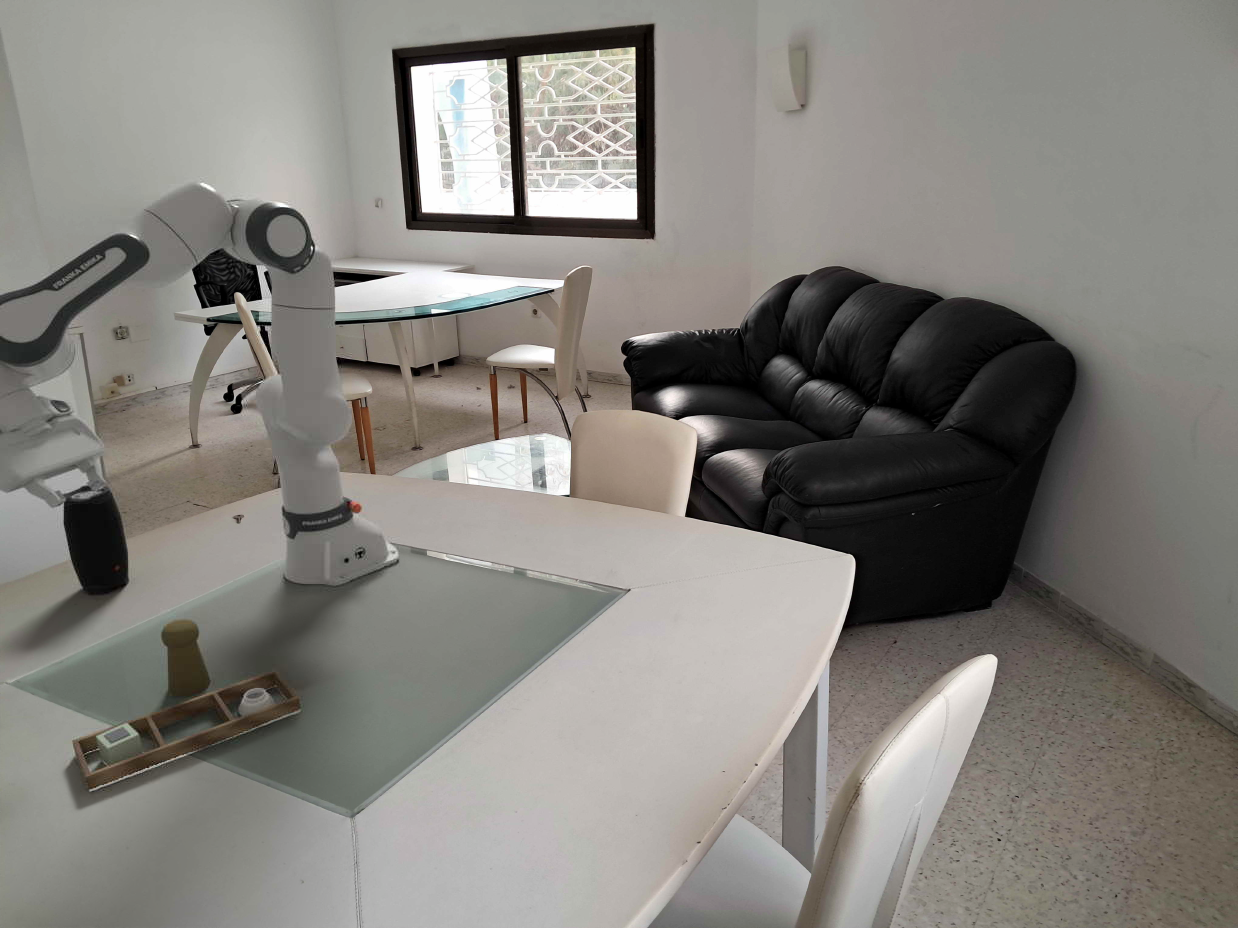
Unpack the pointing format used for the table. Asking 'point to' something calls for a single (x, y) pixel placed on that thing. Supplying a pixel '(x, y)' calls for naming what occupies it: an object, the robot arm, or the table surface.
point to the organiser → (196, 740)
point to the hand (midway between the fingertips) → (81, 495)
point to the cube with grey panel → (119, 744)
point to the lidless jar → (255, 701)
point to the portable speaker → (96, 539)
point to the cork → (184, 659)
